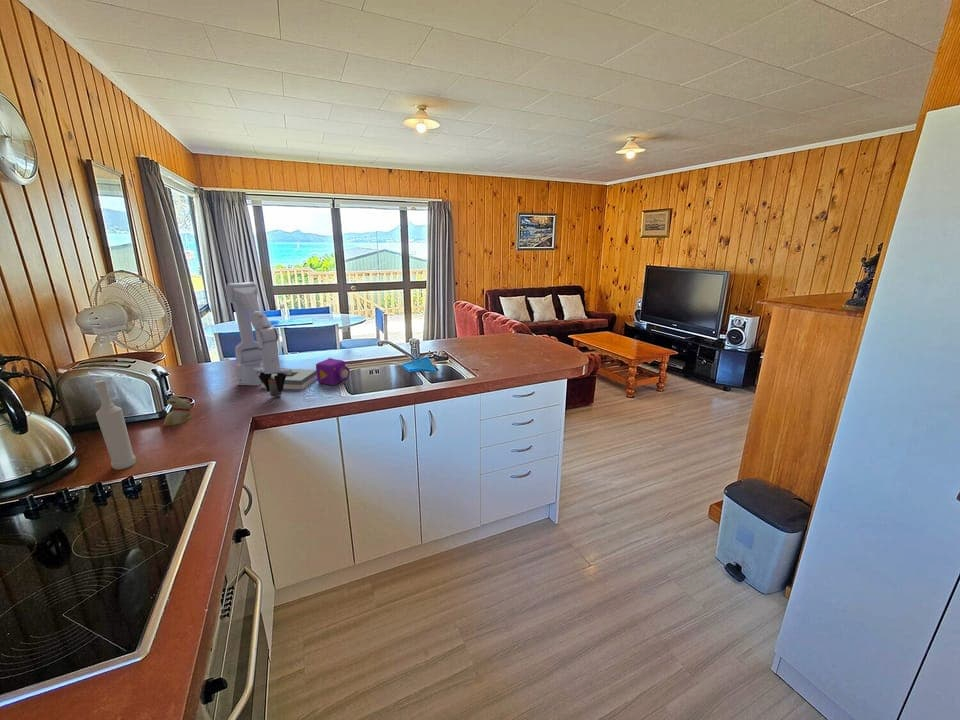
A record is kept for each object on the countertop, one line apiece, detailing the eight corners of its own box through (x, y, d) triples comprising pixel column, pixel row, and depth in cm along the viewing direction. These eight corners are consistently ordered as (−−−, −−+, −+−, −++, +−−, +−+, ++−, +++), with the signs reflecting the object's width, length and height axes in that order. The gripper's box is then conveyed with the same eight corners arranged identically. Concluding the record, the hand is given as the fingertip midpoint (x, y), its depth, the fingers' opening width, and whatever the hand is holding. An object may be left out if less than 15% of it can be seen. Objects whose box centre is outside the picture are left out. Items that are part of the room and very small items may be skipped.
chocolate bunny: (192, 421, 137) (186, 395, 134) (163, 427, 133) (156, 399, 130) (193, 416, 141) (187, 389, 138) (165, 421, 137) (159, 394, 134)
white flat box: (261, 387, 168) (260, 379, 167) (280, 376, 181) (278, 368, 180) (302, 389, 166) (301, 380, 165) (318, 378, 180) (317, 369, 179)
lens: (267, 396, 156) (265, 379, 154) (274, 392, 160) (271, 376, 158) (278, 396, 156) (275, 380, 154) (284, 392, 160) (281, 376, 158)
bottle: (122, 460, 113) (97, 378, 106) (141, 459, 114) (118, 377, 106) (107, 470, 108) (80, 384, 101) (127, 469, 109) (102, 384, 101)
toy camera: (343, 387, 169) (341, 365, 166) (314, 385, 172) (311, 363, 169) (355, 379, 179) (353, 358, 176) (328, 377, 182) (326, 356, 179)
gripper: (245, 360, 150) (251, 393, 154) (282, 361, 149) (287, 395, 153) (257, 355, 157) (262, 387, 161) (292, 356, 156) (296, 388, 160)
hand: (275, 390), depth 158 cm, fingers closed on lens, 4 cm apart
